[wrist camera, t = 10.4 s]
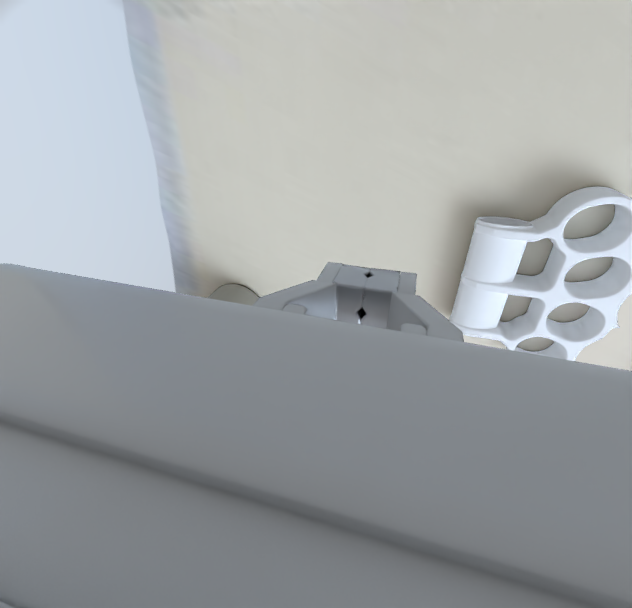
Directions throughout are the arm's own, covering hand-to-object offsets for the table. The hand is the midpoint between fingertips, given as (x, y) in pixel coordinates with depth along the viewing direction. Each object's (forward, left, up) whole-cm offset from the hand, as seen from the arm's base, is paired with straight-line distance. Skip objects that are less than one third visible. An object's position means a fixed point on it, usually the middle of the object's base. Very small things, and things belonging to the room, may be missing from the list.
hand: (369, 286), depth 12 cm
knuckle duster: (-14, +9, -24) cm, 29 cm away
